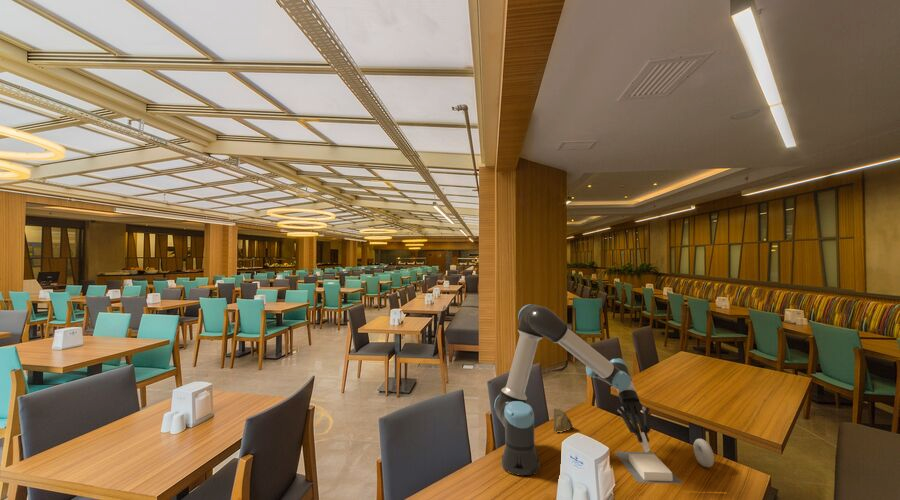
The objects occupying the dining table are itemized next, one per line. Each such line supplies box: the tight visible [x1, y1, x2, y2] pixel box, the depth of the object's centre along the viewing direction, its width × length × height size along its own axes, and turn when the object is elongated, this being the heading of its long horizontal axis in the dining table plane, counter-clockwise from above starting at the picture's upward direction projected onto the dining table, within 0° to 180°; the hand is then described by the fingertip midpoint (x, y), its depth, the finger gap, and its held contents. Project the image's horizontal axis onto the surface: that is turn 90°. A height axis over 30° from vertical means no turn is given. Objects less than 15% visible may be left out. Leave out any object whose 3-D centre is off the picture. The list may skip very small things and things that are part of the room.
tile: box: [629, 453, 673, 481], centre depth 137 cm, size 3×10×13 cm
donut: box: [692, 438, 715, 468], centre depth 141 cm, size 10×4×10 cm, turn 175°
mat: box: [614, 451, 684, 485], centre depth 140 cm, size 22×16×1 cm
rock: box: [553, 408, 574, 432], centre depth 173 cm, size 11×9×10 cm
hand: (647, 451), depth 139 cm, fingers closed
